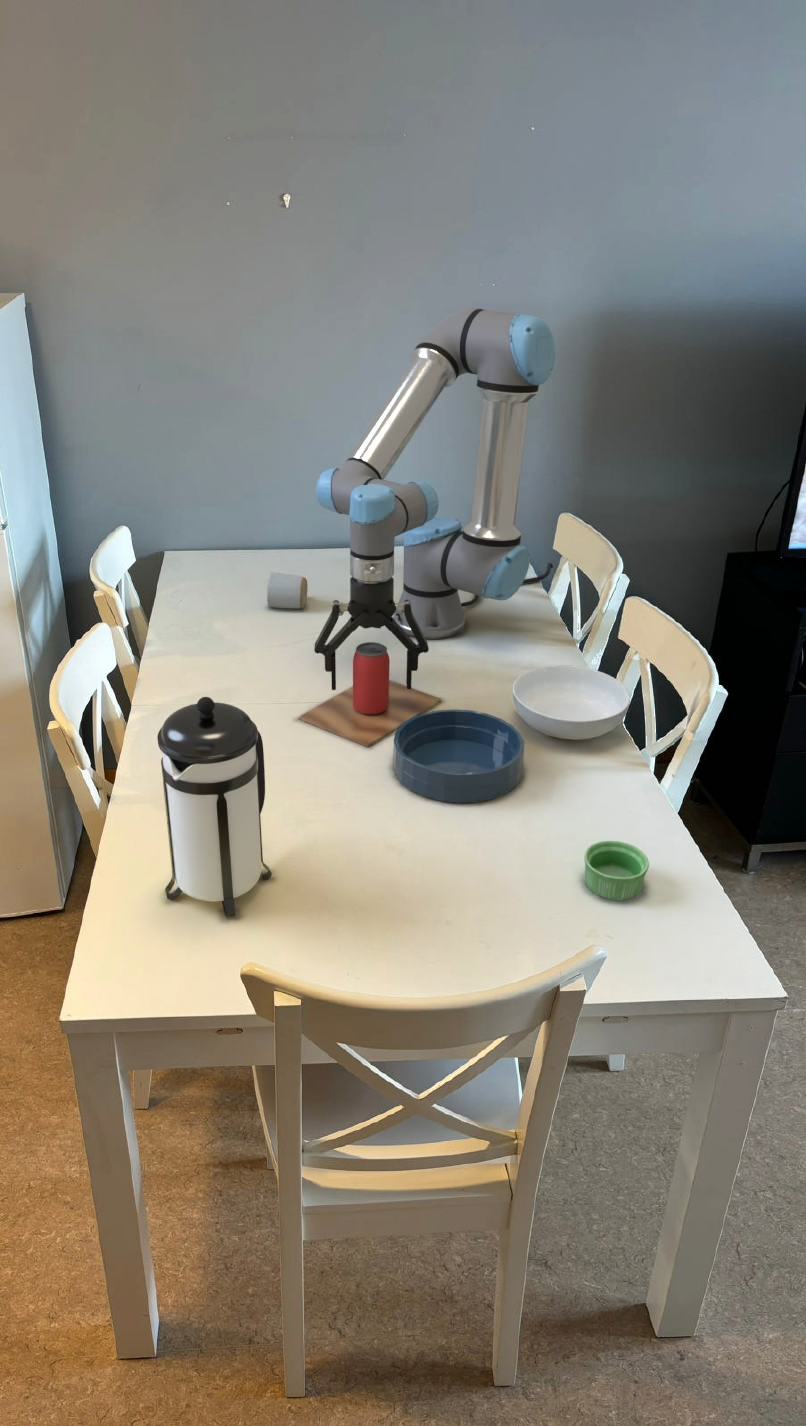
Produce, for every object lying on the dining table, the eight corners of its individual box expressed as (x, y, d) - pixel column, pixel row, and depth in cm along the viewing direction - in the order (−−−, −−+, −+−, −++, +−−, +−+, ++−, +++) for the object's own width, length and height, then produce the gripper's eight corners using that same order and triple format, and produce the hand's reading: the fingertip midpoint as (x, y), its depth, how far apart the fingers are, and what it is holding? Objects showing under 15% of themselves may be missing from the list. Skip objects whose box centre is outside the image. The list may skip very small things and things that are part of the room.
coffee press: (289, 909, 147) (282, 717, 133) (171, 929, 143) (150, 733, 128) (266, 838, 162) (258, 657, 147) (158, 854, 157) (139, 670, 143)
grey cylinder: (304, 614, 235) (303, 581, 232) (266, 612, 236) (265, 579, 232) (310, 596, 245) (310, 564, 241) (274, 594, 245) (273, 562, 241)
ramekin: (603, 910, 148) (607, 884, 146) (569, 873, 155) (572, 848, 153) (657, 894, 152) (661, 869, 149) (621, 859, 159) (625, 834, 157)
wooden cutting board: (373, 676, 209) (373, 674, 209) (441, 701, 201) (441, 698, 201) (298, 719, 194) (298, 716, 194) (367, 747, 186) (367, 745, 185)
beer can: (384, 718, 194) (385, 658, 188) (349, 714, 195) (348, 654, 189) (392, 701, 199) (393, 642, 194) (357, 697, 201) (357, 639, 195)
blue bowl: (441, 724, 193) (443, 697, 191) (545, 763, 182) (548, 735, 180) (367, 773, 178) (367, 745, 175) (475, 819, 167) (477, 789, 164)
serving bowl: (496, 740, 189) (498, 706, 185) (525, 689, 206) (528, 657, 203) (614, 764, 182) (619, 728, 179) (634, 709, 200) (639, 676, 196)
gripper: (298, 585, 181) (301, 696, 191) (446, 584, 182) (441, 695, 193) (299, 568, 187) (302, 677, 198) (442, 568, 189) (438, 676, 199)
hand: (371, 686), depth 195 cm, fingers open, 13 cm apart
